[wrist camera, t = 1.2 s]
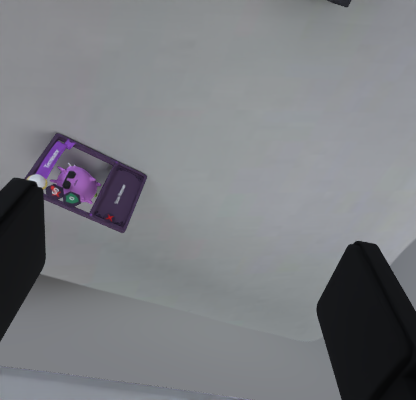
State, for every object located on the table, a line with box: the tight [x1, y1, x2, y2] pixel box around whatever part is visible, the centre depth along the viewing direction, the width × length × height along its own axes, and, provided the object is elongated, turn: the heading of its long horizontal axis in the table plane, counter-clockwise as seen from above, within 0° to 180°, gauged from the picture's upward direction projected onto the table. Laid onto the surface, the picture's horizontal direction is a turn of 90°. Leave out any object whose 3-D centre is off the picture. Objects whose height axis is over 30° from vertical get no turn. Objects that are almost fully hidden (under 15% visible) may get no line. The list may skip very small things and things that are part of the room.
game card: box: [25, 133, 147, 233], centre depth 34 cm, size 7×5×9 cm
